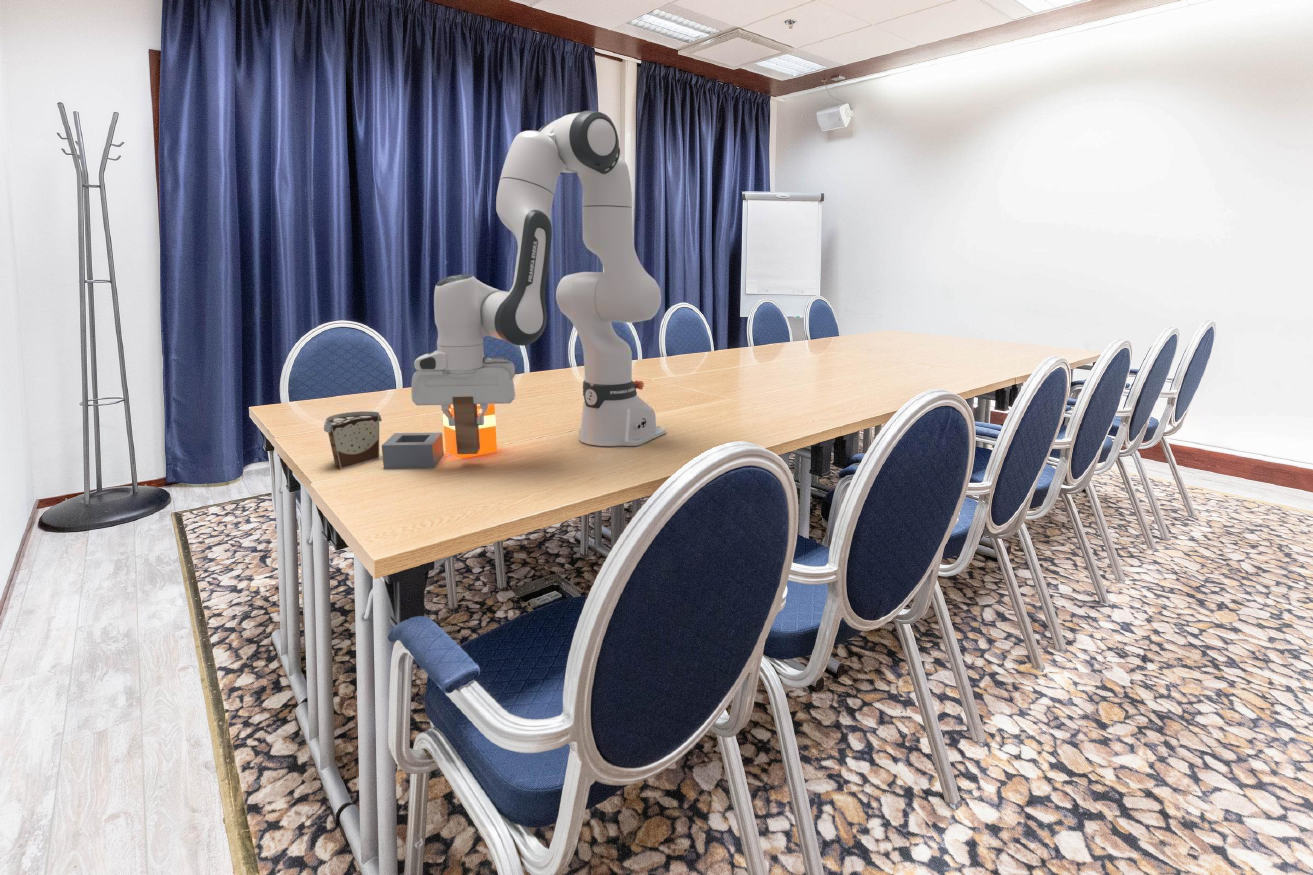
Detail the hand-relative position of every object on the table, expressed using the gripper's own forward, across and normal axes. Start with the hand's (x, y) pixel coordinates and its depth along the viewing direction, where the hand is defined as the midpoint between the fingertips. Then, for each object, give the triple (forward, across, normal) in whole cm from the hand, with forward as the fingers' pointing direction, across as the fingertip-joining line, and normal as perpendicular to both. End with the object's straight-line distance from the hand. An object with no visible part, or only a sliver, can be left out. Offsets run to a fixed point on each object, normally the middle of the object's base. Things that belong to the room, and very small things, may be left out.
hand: (466, 425), depth 142 cm
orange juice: (+9, +1, -10) cm, 14 cm away
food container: (+9, +25, -4) cm, 27 cm away
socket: (+9, +12, -3) cm, 15 cm away
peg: (+6, 0, 0) cm, 6 cm away
